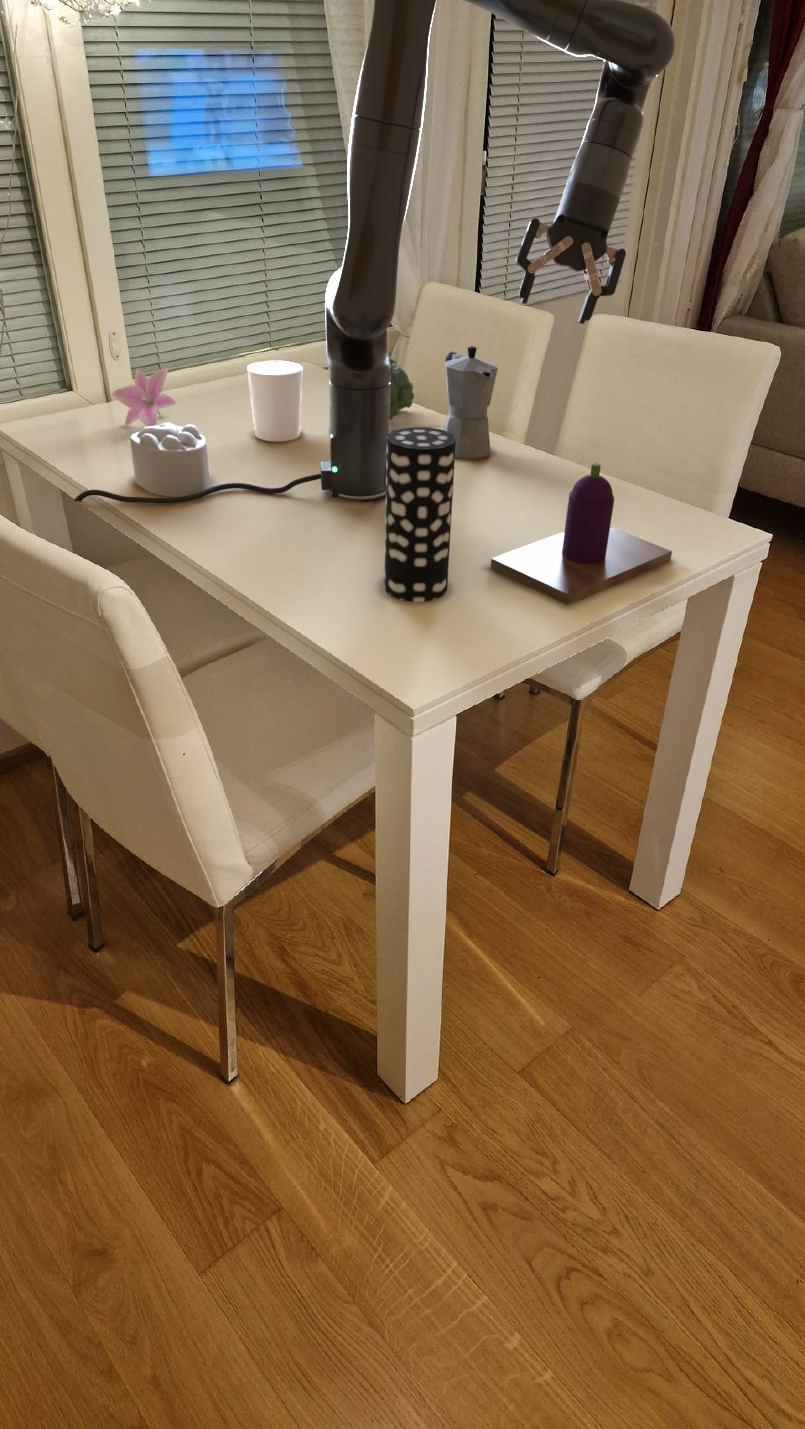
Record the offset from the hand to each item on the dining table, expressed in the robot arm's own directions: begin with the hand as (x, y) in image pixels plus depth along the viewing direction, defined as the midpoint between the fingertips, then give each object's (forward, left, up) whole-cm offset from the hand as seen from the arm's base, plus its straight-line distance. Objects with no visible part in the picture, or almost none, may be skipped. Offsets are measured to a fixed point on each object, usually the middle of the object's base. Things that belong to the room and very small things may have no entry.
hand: (552, 313), depth 137 cm
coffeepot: (-6, +29, -29) cm, 41 cm away
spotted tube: (-21, -26, -29) cm, 45 cm away
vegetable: (-19, +48, -29) cm, 59 cm away
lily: (-63, +45, -29) cm, 83 cm away
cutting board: (+3, -20, -29) cm, 35 cm away
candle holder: (-39, +38, -29) cm, 62 cm away
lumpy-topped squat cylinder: (-56, +13, -29) cm, 64 cm away
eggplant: (+3, -20, -27) cm, 34 cm away
